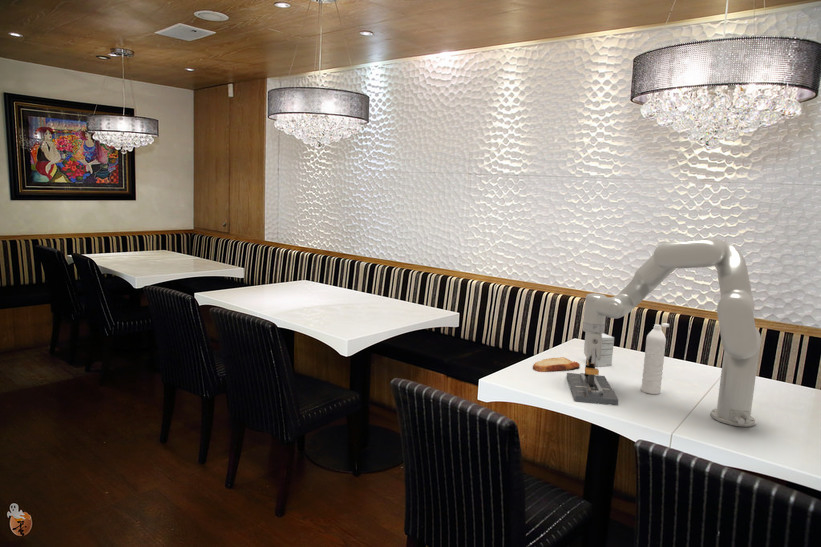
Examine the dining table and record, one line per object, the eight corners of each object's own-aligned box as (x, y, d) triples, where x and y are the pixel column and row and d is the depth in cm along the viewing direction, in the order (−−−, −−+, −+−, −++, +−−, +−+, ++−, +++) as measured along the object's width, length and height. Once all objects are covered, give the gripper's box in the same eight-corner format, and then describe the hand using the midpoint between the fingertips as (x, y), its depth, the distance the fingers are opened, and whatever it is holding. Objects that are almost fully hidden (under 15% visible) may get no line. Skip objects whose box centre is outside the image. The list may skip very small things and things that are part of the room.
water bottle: (651, 395, 202) (659, 327, 198) (637, 389, 207) (644, 323, 204) (668, 392, 206) (675, 325, 202) (653, 386, 211) (660, 321, 208)
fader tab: (597, 385, 203) (598, 370, 202) (584, 384, 203) (586, 369, 203) (596, 383, 206) (597, 368, 205) (583, 382, 206) (585, 367, 205)
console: (617, 405, 190) (618, 396, 190) (575, 401, 192) (575, 392, 192) (604, 381, 216) (604, 372, 215) (566, 377, 218) (567, 369, 217)
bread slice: (531, 371, 225) (531, 362, 224) (536, 360, 242) (537, 351, 241) (578, 378, 219) (578, 368, 219) (580, 365, 236) (580, 357, 235)
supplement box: (586, 362, 240) (588, 333, 239) (601, 361, 243) (603, 332, 241) (597, 367, 233) (599, 337, 232) (612, 366, 236) (614, 337, 234)
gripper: (608, 333, 198) (603, 383, 200) (601, 323, 212) (596, 370, 215) (586, 331, 199) (581, 381, 201) (580, 322, 213) (576, 369, 216)
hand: (589, 375), depth 208 cm, fingers closed
